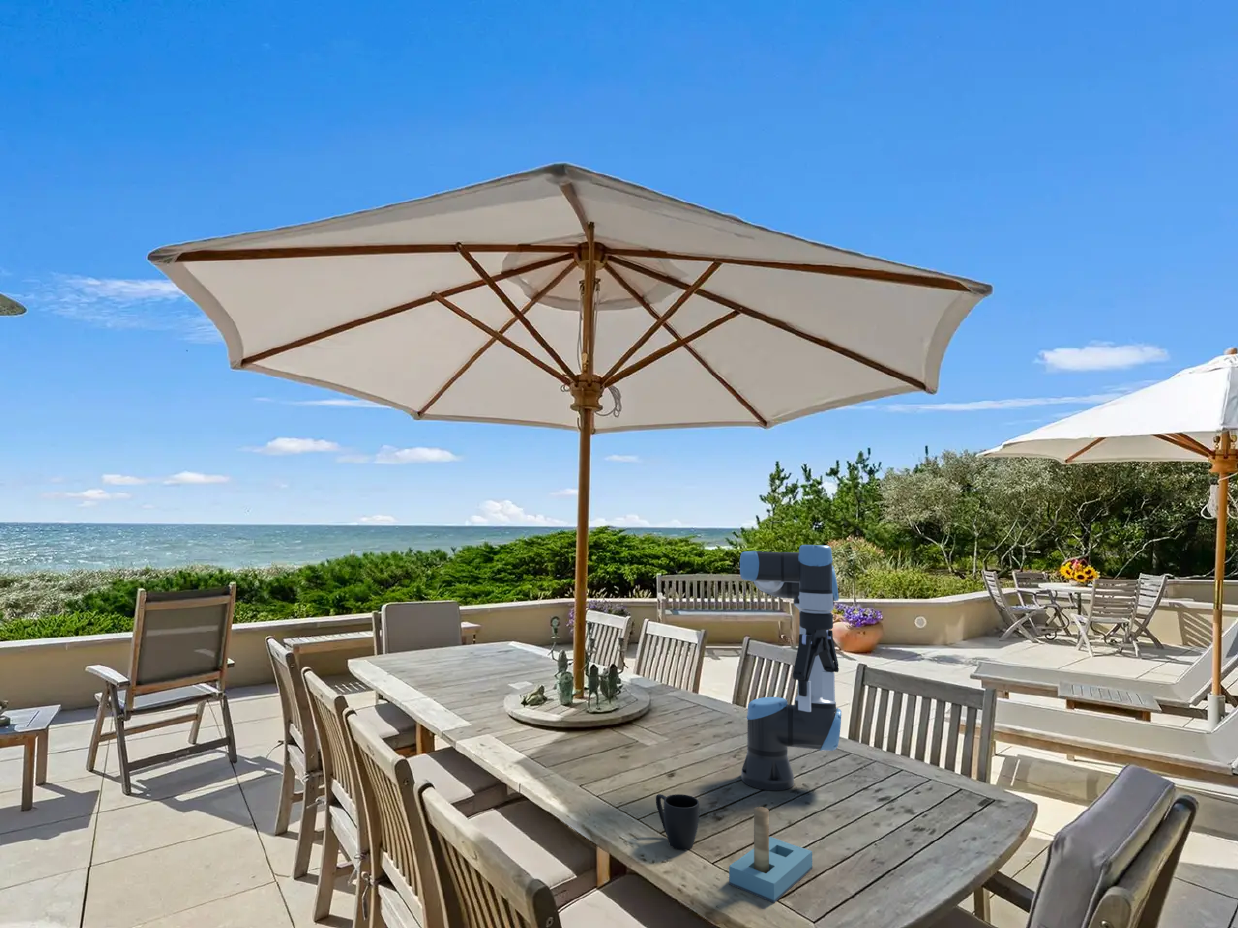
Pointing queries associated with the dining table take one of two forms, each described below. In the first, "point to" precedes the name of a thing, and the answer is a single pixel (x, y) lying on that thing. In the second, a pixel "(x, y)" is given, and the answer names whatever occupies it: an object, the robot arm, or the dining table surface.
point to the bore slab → (771, 870)
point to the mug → (679, 819)
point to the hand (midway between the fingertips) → (817, 705)
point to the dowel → (761, 839)
